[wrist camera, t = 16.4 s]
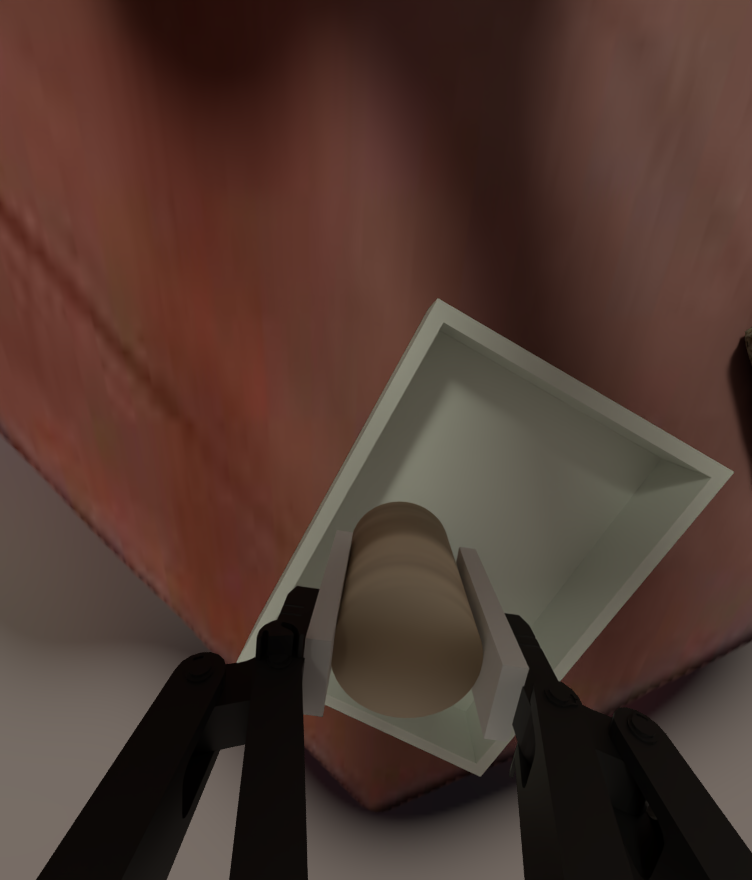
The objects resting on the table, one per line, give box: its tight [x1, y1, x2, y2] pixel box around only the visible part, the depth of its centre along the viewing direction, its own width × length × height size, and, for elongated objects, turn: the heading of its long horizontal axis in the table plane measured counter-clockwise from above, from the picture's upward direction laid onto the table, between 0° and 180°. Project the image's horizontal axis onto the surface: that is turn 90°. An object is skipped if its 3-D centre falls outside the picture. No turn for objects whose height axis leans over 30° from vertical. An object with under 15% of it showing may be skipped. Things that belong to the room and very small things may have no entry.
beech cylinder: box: [331, 502, 483, 718], centre depth 15 cm, size 5×5×7 cm
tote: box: [237, 299, 734, 776], centre depth 28 cm, size 22×30×5 cm
